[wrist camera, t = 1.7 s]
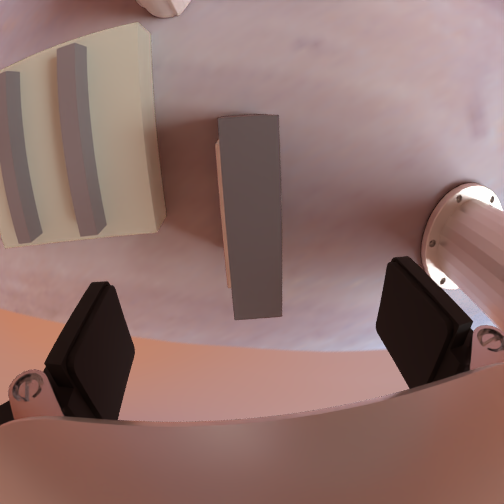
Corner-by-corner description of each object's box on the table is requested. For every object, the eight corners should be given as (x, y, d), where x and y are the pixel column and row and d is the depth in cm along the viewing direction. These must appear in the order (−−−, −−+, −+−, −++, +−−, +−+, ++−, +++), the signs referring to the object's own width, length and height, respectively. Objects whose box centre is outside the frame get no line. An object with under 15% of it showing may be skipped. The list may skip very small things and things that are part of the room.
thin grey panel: (260, 114, 24) (278, 114, 14) (266, 249, 29) (282, 316, 20) (219, 116, 23) (211, 118, 14) (229, 252, 29) (229, 320, 20)
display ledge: (150, 33, 20) (129, 14, 14) (166, 215, 27) (151, 243, 21) (2, 81, 19) (-37, 83, 14) (25, 232, 26) (-7, 258, 21)
